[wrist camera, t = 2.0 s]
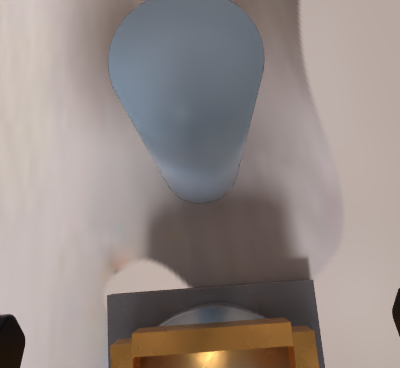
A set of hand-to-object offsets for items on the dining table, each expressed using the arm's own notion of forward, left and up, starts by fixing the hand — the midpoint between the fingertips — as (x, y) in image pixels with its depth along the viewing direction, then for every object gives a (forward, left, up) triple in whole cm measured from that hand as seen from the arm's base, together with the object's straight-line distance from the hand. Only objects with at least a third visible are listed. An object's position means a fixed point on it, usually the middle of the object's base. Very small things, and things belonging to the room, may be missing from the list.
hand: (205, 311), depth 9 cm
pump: (+7, 0, -12) cm, 14 cm away
